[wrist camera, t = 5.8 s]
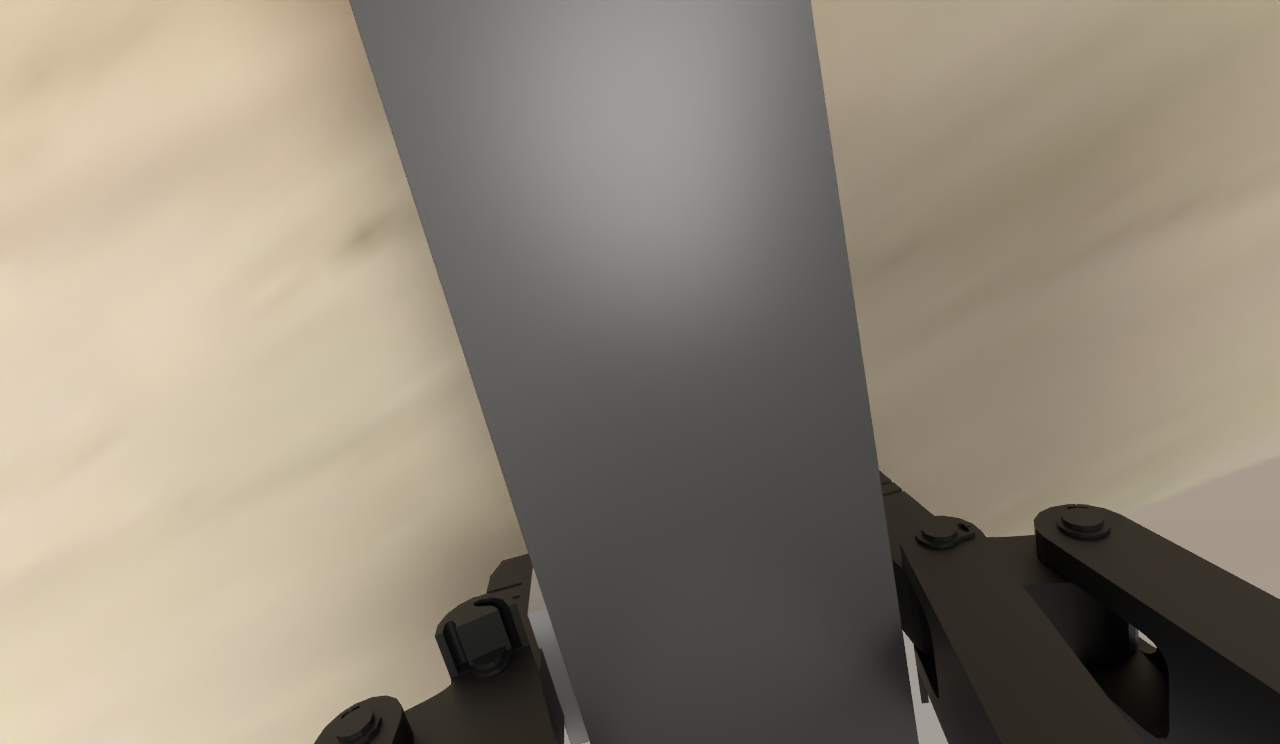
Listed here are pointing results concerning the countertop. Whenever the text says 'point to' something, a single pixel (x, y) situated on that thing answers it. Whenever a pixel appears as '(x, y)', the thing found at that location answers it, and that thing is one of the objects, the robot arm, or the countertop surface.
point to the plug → (662, 351)
